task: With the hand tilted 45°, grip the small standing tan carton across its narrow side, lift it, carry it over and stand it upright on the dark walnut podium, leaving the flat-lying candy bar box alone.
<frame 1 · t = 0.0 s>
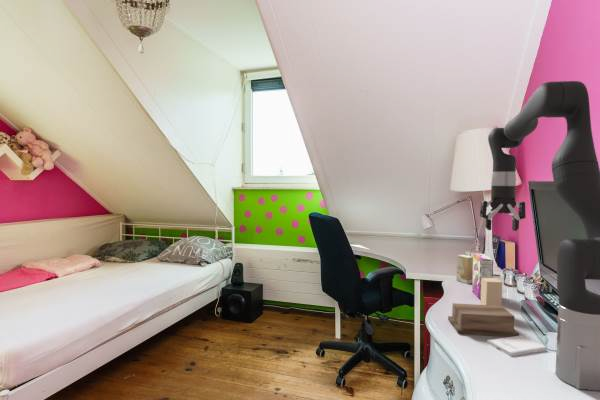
hand: (501, 230, 127), 29 cm above the table, tool pointing down, fingers open, 8 cm apart
podium: (481, 328, 113), on the table
external hard drive: (515, 349, 101), on the table
skincare box: (464, 282, 166), on the table
candy bar box: (481, 296, 145), on the table
tan carton: (490, 313, 126), on the table
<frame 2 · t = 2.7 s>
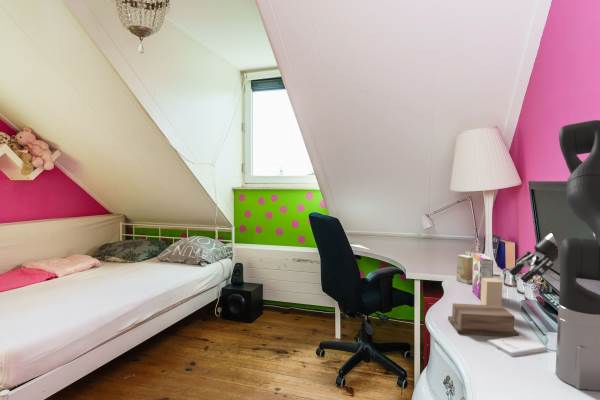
hand: (516, 277, 124), 13 cm above the table, tool tilted 45°, fingers open, 8 cm apart
nothing on the table moved.
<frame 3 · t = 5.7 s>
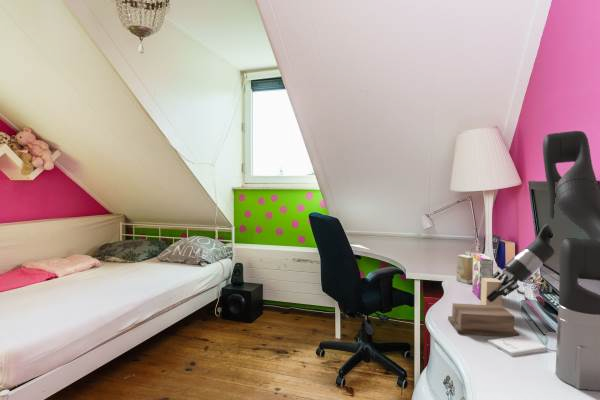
hand: (485, 297, 126), 6 cm above the table, tool tilted 45°, fingers closed on tan carton, 5 cm apart
tan carton: (490, 313, 126), on the table, touching gripper
everything else where it was.
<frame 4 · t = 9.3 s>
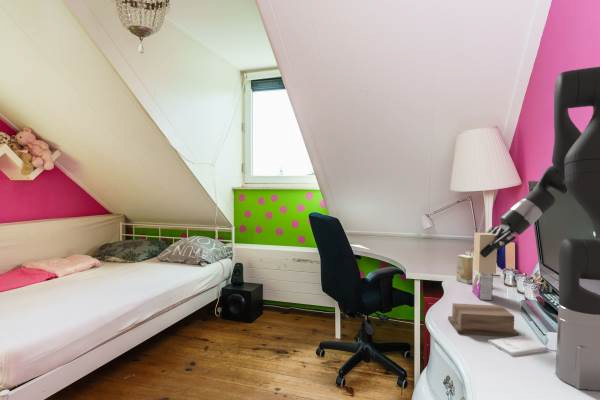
hand: (478, 253, 113), 24 cm above the table, tool tilted 45°, fingers closed on tan carton, 5 cm apart
tan carton: (484, 271, 113), point 18 cm above the table, touching gripper
everything else where it was.
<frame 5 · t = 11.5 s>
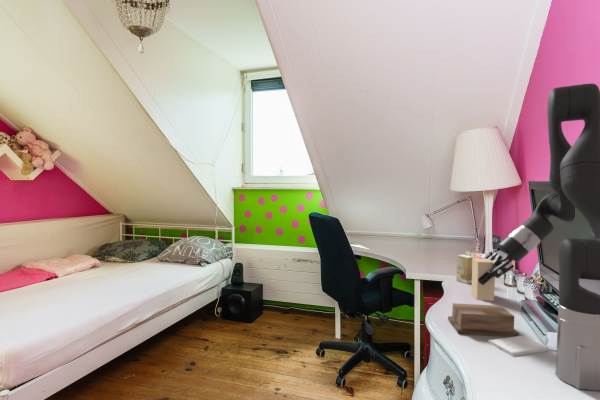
hand: (476, 279, 113), 15 cm above the table, tool tilted 45°, fingers closed on tan carton, 5 cm apart
tan carton: (482, 297, 113), point 10 cm above the table, touching gripper
everything else where it was.
when the fingers open (13 cm above the table, at t = 13.0 s): tan carton drops 1 cm, resting on podium.
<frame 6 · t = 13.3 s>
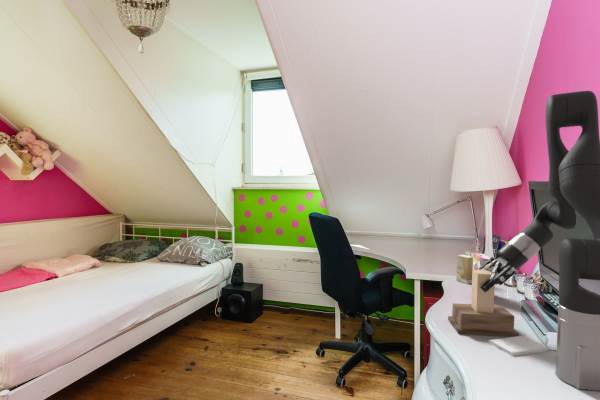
hand: (477, 285, 113), 14 cm above the table, tool tilted 45°, fingers open, 7 cm apart
tan carton: (482, 309, 113), point 6 cm above the table, touching podium
everything else where it was.
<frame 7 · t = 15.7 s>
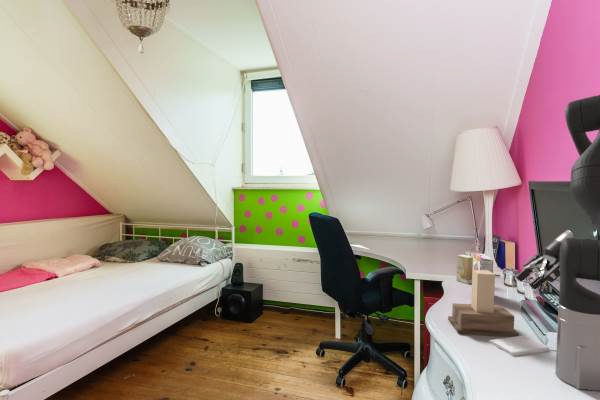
hand: (524, 283, 111), 15 cm above the table, tool tilted 45°, fingers open, 8 cm apart
nothing on the table moved.
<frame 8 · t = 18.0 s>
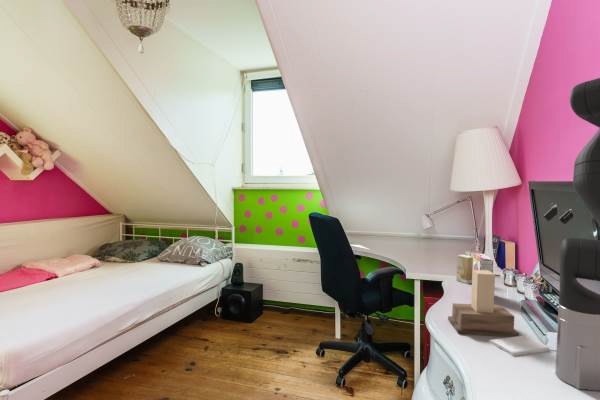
hand: (553, 220, 111), 35 cm above the table, tool tilted 45°, fingers open, 8 cm apart
nothing on the table moved.
at the end: tan carton inside the target area on the podium (0.1 cm from its centre), point 6.0 cm above the podium's base; tan carton tilted 0°; the gripper is holding nothing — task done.
